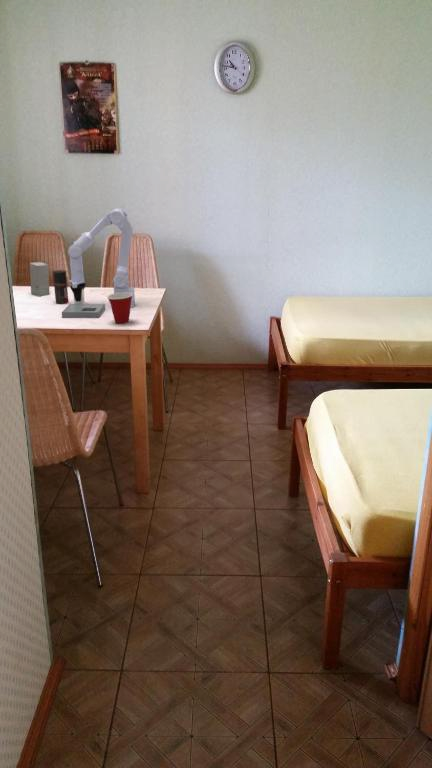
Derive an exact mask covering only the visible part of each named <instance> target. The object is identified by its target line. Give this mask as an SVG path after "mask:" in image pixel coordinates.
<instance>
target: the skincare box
mask: <svg viewBox="0 0 432 768" xmlns="http://www.w3.org/2000/svg"><path fill="white" fill-rule="evenodd" d="M49 269H50V268H49V264H47V263H45V262H41V261H39V262H38V261H37V262H30V263H29V274H30V275H29V276H30V278H29V279H30V294H31V295H33V296H37V297H44V296H50V295H51V294H50V272H49V271H50V270H49Z"/></svg>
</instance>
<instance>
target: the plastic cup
mask: <svg viewBox="0 0 432 768" xmlns="http://www.w3.org/2000/svg"><path fill="white" fill-rule="evenodd" d="M132 295H133V294H132V293H127V292H124V293H115V294H114V293H112V294H109V295H107V296H106V298H107V299H108V301H109V304H110V308H111V312H112V315H113V319H114V322H115V324H119V325H121V324H127V323H129V321H130V314H131V308H132V307H131V299H132Z"/></svg>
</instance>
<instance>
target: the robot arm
mask: <svg viewBox="0 0 432 768" xmlns="http://www.w3.org/2000/svg"><path fill="white" fill-rule="evenodd" d="M112 224H113V225H115V226H116V227H117V228H118V229H119V230H120V231H121V239H120V244H119V245H120V246H119V254H118V260H117V268H116V273H115V275H114V276H113V280H112V281H113V294H115V293H124V292H127V293H132V294H133V295H132V299H131V307H130V308H134V306H135V304H136V301H135V300H136V298H135V297H136V296H135V287H134V286H130V285H129V284H128V281H129V280H130V279H129V278H130V277H129V274H128V271H129V269H128V268H129V258H130V255H131V254H130V253H131V245H132V238H133V231H134V229H133V226H132V223H131V220H130V219H129V216H128V214H127V213H126V211H125V210H123V208H121V207H116V208H113V210H111V211H110V212H109V213H107V214H106V215H105V216H103V217H102V218H101V219H100V220H99V221H98V222H97V223H96V224H95V226H93V227H92V229H91V230H90V231H88V232H87V231H84V232H81V233H80V236H79V237H78V238H77V240H76V241H75V240H74V241H73V244H71V245H70V246H69V248H68V250H67V254H68V256H69V265H70V266H69V267H70V268H69V269H70V280H69V279H68V282H69V283H71V285H70V287H69V288H70V290H71V291H72V294H73V298H74V297H75V300H76V301H81V292H82V288H84V289H85V288H86V285H87V284H86V282H85V275H84V266H83V264H84V262H83V256H82V255H83V253H84V252H85V251H87V249H89V247H90V246H91V245H92V244H93V243H94V242H95V237H96V236H97V235H98V234H99V233H100V232H101V231H102V230H104V228H105V227H107V226H111V225H112Z"/></svg>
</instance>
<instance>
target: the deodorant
mask: <svg viewBox="0 0 432 768" xmlns="http://www.w3.org/2000/svg"><path fill="white" fill-rule="evenodd" d="M52 277H53V278H52V279H53V288H54V297H55V298H54V299H55V304H56V305H65V304H69V294H68V293H69V292H68V282H67V271H66V270H61V269H60V270H58V269H57V270H53V271H52Z"/></svg>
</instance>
